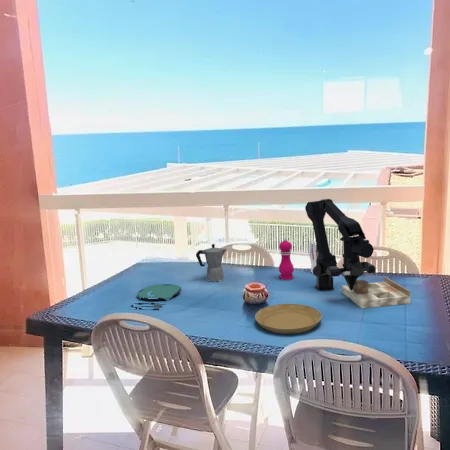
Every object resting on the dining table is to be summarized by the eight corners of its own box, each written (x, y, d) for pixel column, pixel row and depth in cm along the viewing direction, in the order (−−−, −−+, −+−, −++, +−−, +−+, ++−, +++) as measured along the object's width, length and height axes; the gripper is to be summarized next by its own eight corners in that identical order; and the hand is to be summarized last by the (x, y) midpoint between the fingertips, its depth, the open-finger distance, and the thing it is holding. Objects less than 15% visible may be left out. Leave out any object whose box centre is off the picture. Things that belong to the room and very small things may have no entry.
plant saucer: (276, 342, 152) (275, 333, 152) (244, 319, 174) (244, 311, 174) (335, 327, 162) (335, 319, 161) (298, 307, 183) (298, 299, 183)
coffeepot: (226, 275, 233) (224, 240, 230) (230, 280, 224) (228, 244, 221) (196, 278, 230) (193, 244, 227) (199, 284, 221) (196, 247, 218)
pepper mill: (284, 281, 218) (283, 240, 214) (276, 277, 224) (274, 237, 220) (297, 278, 221) (295, 238, 217) (288, 275, 227) (287, 235, 224)
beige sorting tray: (361, 308, 177) (361, 296, 177) (342, 292, 197) (341, 281, 196) (410, 303, 180) (410, 291, 179) (385, 288, 199) (385, 277, 199)
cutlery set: (187, 288, 216) (187, 283, 215) (163, 312, 187) (162, 307, 187) (148, 287, 221) (148, 283, 221) (119, 311, 193) (118, 306, 192)
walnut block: (357, 294, 185) (357, 283, 184) (353, 290, 189) (353, 280, 188) (368, 293, 185) (368, 282, 185) (363, 289, 190) (363, 279, 189)
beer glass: (325, 270, 231) (324, 241, 228) (322, 274, 225) (321, 244, 222) (311, 269, 234) (311, 241, 231) (308, 273, 228) (307, 244, 225)
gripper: (335, 259, 175) (336, 298, 178) (382, 255, 177) (381, 294, 180) (325, 253, 186) (326, 289, 188) (369, 249, 188) (369, 285, 191)
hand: (351, 290), depth 186 cm, fingers closed
